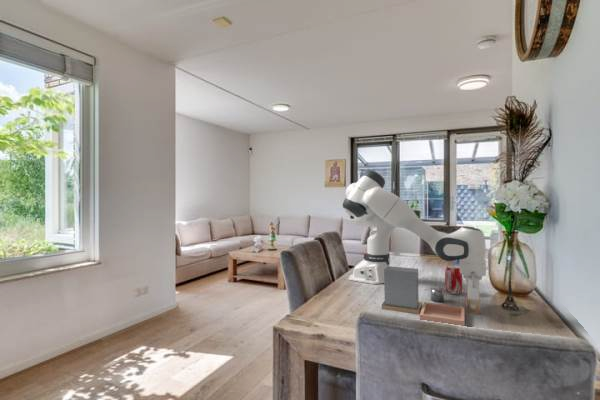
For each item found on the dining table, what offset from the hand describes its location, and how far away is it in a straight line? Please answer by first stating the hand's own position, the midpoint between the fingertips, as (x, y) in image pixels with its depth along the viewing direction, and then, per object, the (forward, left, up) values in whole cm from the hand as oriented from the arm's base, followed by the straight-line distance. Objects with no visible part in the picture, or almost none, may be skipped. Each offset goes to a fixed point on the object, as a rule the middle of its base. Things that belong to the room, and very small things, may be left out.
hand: (472, 305), depth 119 cm
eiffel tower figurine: (+13, +8, -3) cm, 16 cm away
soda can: (-7, +21, -2) cm, 22 cm away
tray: (-10, -12, -2) cm, 16 cm away
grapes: (-4, +74, -2) cm, 74 cm away
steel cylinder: (-13, +7, -2) cm, 15 cm away
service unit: (-25, -7, -2) cm, 26 cm away
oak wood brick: (0, 0, -2) cm, 2 cm away
